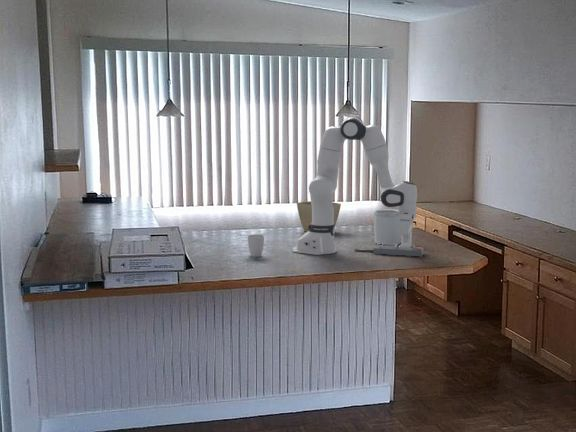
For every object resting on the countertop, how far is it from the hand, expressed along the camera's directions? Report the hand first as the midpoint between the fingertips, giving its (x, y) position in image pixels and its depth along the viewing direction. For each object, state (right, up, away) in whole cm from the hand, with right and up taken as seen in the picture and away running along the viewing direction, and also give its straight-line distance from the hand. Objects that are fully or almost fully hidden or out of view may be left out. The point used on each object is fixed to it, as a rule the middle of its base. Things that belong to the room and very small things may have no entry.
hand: (406, 241), depth 356 cm
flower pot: (-41, +3, +63) cm, 75 cm away
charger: (0, -3, +1) cm, 3 cm away
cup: (-75, -7, -3) cm, 76 cm away
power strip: (-9, -6, +4) cm, 11 cm away
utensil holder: (-6, -2, +30) cm, 30 cm away
